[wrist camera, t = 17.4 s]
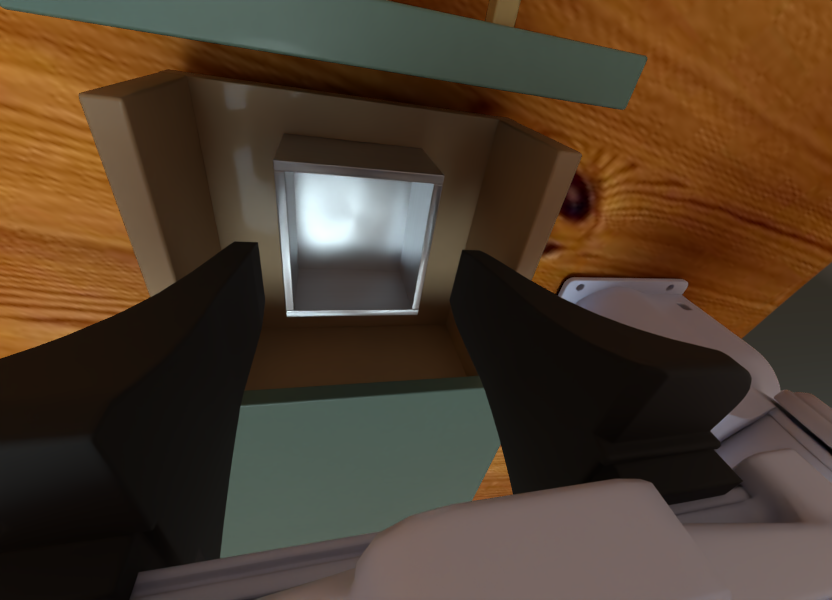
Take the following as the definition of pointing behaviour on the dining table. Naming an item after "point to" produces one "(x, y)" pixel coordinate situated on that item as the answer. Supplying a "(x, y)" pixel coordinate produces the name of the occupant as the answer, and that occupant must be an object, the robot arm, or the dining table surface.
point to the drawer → (346, 120)
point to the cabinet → (352, 459)
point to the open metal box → (354, 225)
